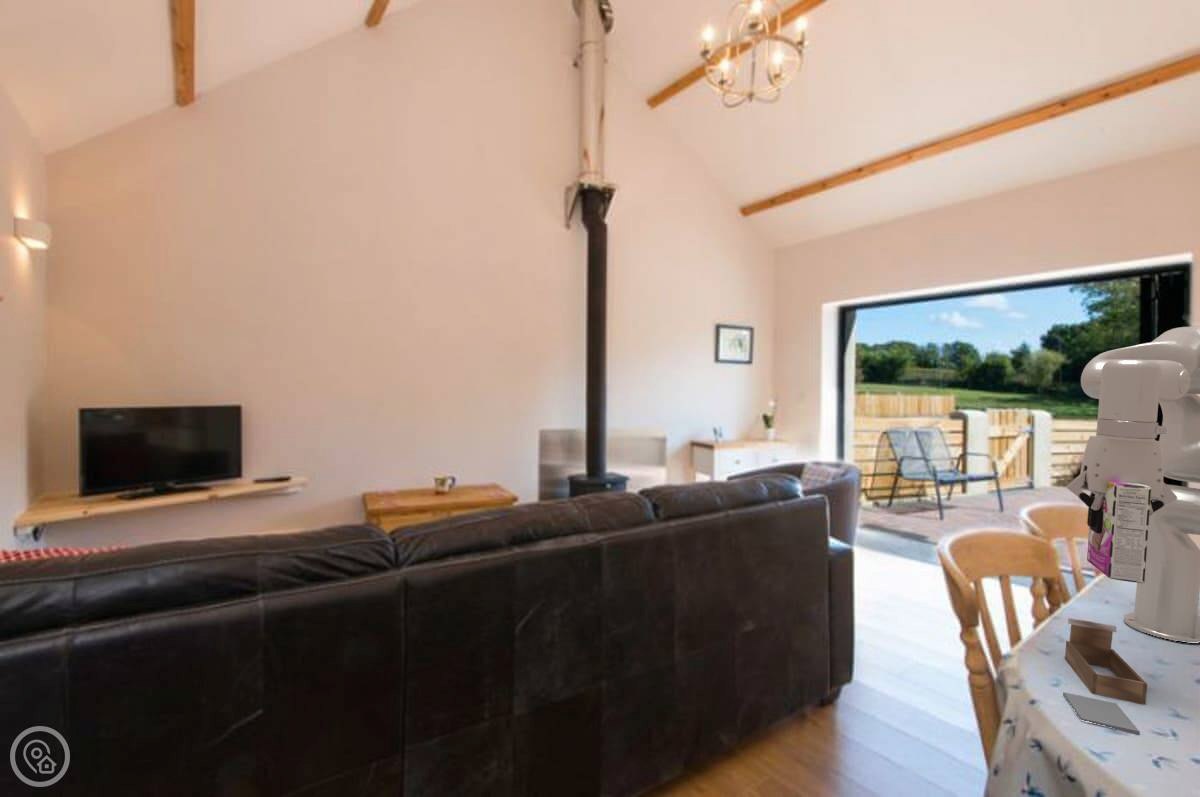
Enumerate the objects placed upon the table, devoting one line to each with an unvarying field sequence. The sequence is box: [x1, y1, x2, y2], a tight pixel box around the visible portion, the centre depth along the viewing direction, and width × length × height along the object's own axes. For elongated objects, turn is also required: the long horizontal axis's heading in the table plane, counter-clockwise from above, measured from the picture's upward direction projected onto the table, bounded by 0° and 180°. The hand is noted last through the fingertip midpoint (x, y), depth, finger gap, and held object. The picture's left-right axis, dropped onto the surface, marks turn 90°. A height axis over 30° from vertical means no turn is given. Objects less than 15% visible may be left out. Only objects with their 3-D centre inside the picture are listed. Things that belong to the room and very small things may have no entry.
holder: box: [1064, 617, 1148, 705], centre depth 100 cm, size 7×13×8 cm, turn 156°
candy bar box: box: [1086, 481, 1151, 584], centre depth 99 cm, size 11×5×16 cm, turn 155°
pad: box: [1062, 691, 1141, 736], centre depth 90 cm, size 7×8×1 cm
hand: (1116, 532), depth 99 cm, fingers closed on candy bar box, 5 cm apart
